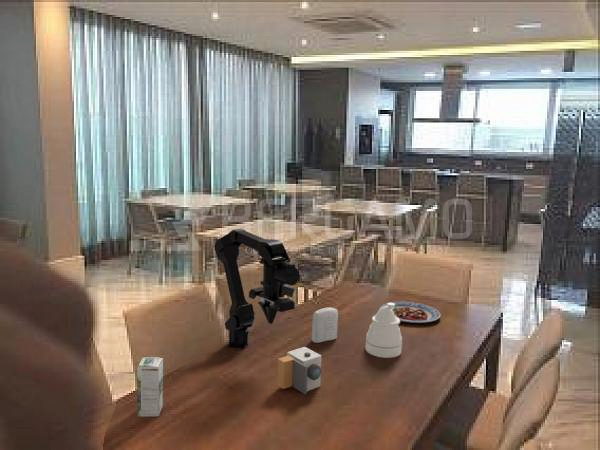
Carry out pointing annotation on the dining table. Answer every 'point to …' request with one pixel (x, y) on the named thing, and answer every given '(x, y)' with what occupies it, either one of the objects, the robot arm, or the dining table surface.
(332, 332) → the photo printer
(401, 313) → the ceramic plate
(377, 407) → the dining table surface
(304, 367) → the side door
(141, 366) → the syrup box
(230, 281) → the robot arm
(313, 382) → the block
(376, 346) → the honey pot
